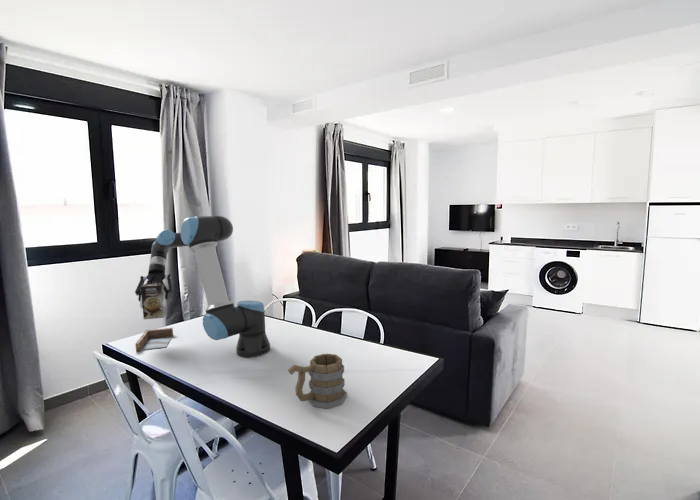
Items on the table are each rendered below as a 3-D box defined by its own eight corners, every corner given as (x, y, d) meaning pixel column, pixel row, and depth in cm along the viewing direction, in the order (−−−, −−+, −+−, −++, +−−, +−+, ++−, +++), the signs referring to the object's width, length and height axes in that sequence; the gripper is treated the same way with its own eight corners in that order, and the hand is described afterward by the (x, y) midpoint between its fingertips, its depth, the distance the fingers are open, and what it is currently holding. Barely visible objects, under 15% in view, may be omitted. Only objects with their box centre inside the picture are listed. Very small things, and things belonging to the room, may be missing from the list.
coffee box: (143, 319, 174) (139, 286, 172) (146, 315, 180) (143, 283, 178) (164, 317, 177) (161, 285, 174) (167, 314, 183) (164, 282, 181)
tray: (165, 348, 174) (164, 340, 173) (136, 351, 170) (135, 343, 170) (173, 335, 191) (172, 327, 191) (146, 337, 188) (145, 330, 188)
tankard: (335, 385, 135) (334, 346, 133) (352, 401, 124) (351, 359, 122) (283, 400, 126) (281, 358, 124) (296, 419, 115) (294, 373, 113)
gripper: (181, 270, 193) (178, 307, 180) (135, 273, 188) (129, 312, 174) (179, 261, 188) (175, 299, 174) (131, 264, 182) (124, 304, 169)
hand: (152, 305), depth 174 cm, fingers closed on coffee box, 9 cm apart
